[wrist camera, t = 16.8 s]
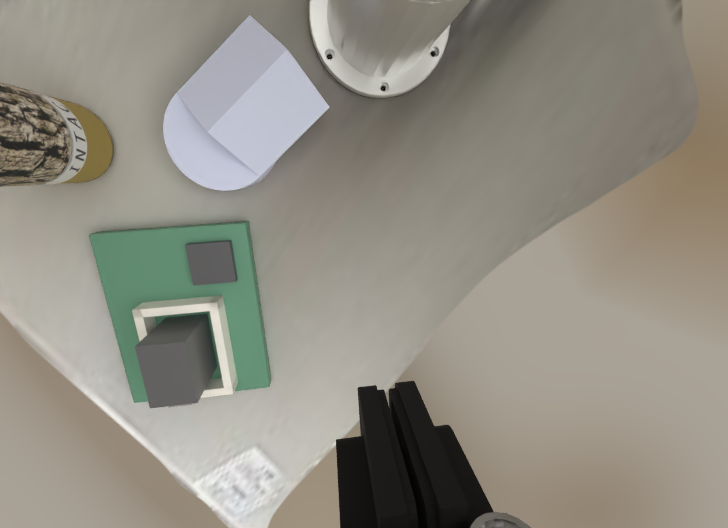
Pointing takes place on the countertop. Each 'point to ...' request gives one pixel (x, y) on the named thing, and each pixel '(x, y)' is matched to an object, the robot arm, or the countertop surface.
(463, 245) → the countertop surface
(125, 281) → the board
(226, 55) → the wedge on round base
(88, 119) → the bark patterned cylinder
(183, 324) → the plug
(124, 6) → the countertop surface
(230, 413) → the countertop surface
